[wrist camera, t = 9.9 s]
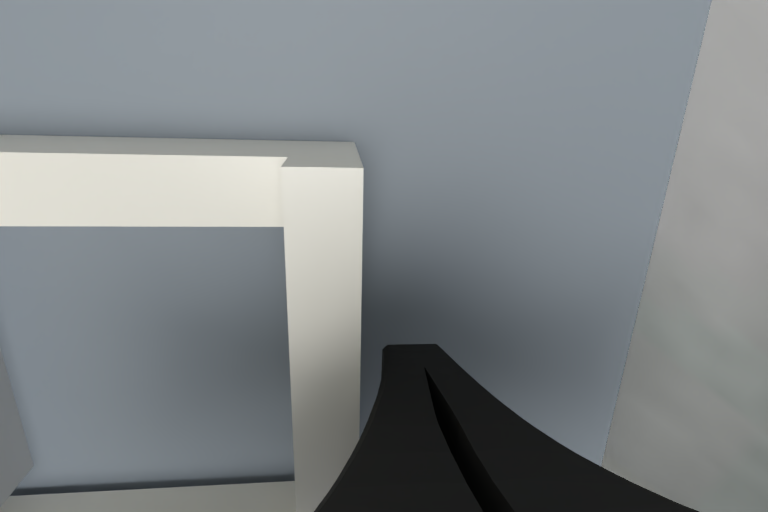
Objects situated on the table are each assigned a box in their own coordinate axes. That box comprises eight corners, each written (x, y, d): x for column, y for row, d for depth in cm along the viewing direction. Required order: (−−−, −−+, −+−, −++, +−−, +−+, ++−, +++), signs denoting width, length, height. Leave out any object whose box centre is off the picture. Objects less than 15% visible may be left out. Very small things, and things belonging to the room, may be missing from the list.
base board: (566, 476, 17) (624, 575, 13) (-182, 518, 14) (-342, 651, 11) (673, -37, 11) (816, -90, 8) (-501, -113, 9) (-1014, -236, 6)
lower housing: (351, 509, 14) (355, 641, 10) (-8, 531, 13) (-127, 684, 9) (354, 141, 10) (363, 168, 7) (-146, 131, 9) (-411, 156, 6)
